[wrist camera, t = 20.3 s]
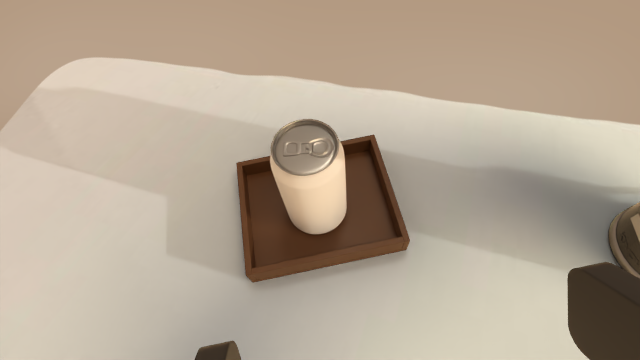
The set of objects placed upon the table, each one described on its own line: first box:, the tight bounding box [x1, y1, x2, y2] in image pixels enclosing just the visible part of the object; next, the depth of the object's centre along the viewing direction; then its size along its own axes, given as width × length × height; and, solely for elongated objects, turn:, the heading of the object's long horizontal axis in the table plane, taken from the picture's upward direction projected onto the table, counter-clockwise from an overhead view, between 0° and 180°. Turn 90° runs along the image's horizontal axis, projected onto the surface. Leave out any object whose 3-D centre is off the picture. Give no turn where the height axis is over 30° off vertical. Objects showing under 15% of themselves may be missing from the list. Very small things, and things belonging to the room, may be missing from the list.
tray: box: [237, 135, 410, 282], centre depth 39 cm, size 16×13×3 cm
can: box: [270, 119, 347, 234], centre depth 34 cm, size 6×6×12 cm
